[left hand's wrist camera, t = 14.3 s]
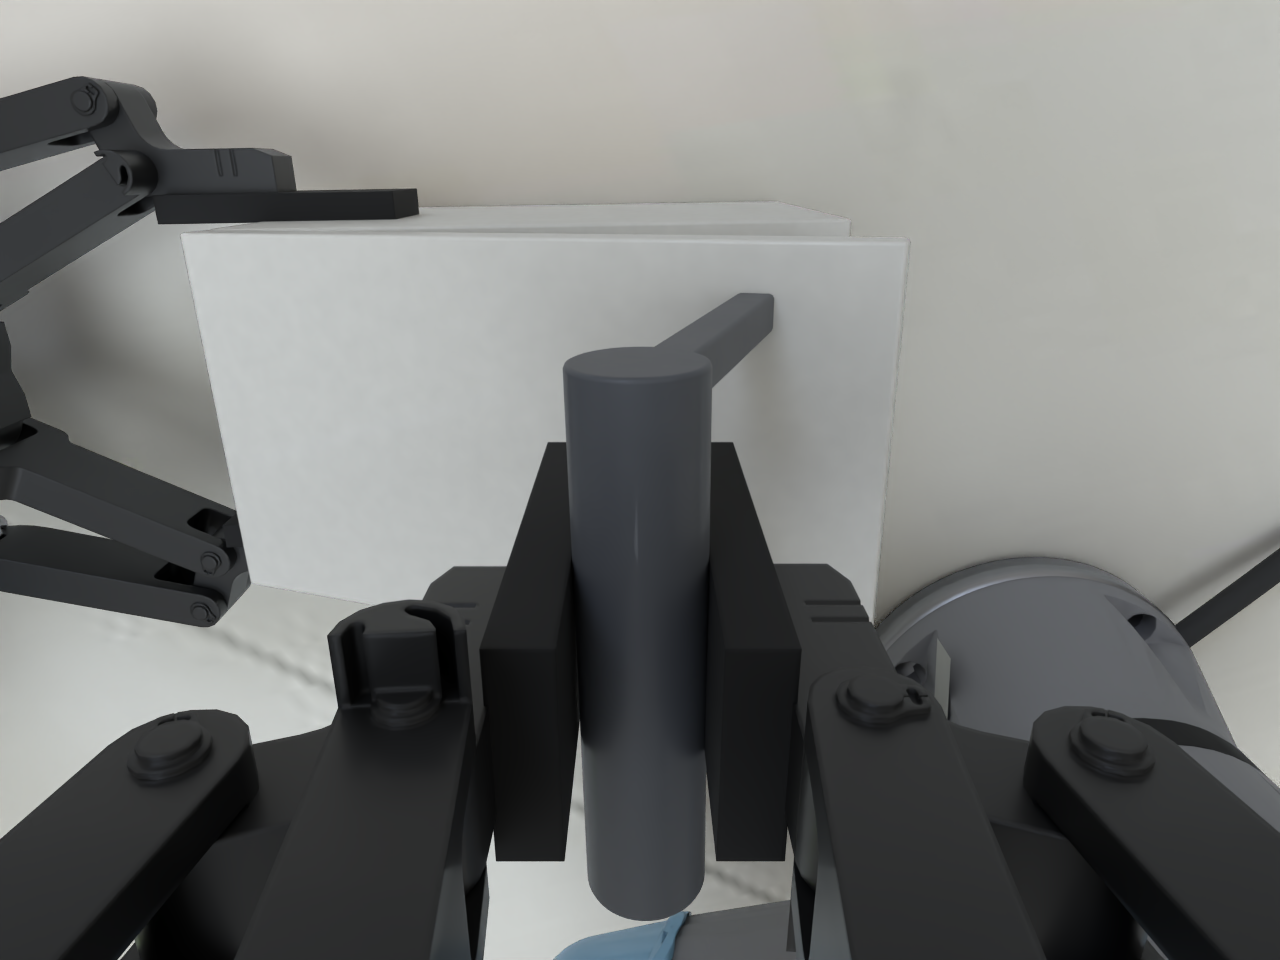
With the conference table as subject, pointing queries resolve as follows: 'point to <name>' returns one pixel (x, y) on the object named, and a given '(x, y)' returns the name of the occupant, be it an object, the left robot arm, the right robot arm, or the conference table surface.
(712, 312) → the lid
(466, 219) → the chest
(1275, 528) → the conference table surface
